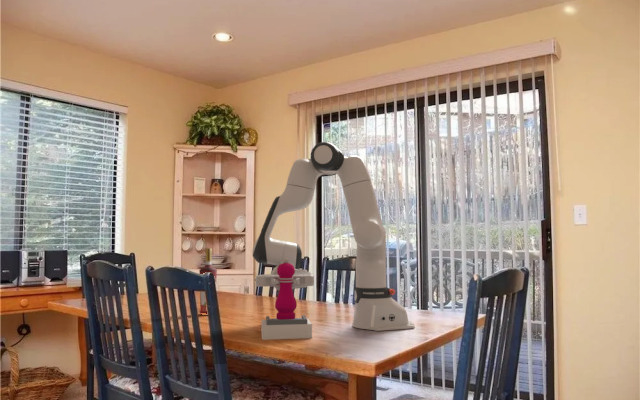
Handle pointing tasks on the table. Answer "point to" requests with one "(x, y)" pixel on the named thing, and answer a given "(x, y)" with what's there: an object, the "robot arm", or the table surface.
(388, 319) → the robot arm
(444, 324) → the table surface
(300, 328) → the dock
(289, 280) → the pepper mill
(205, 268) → the liquor
